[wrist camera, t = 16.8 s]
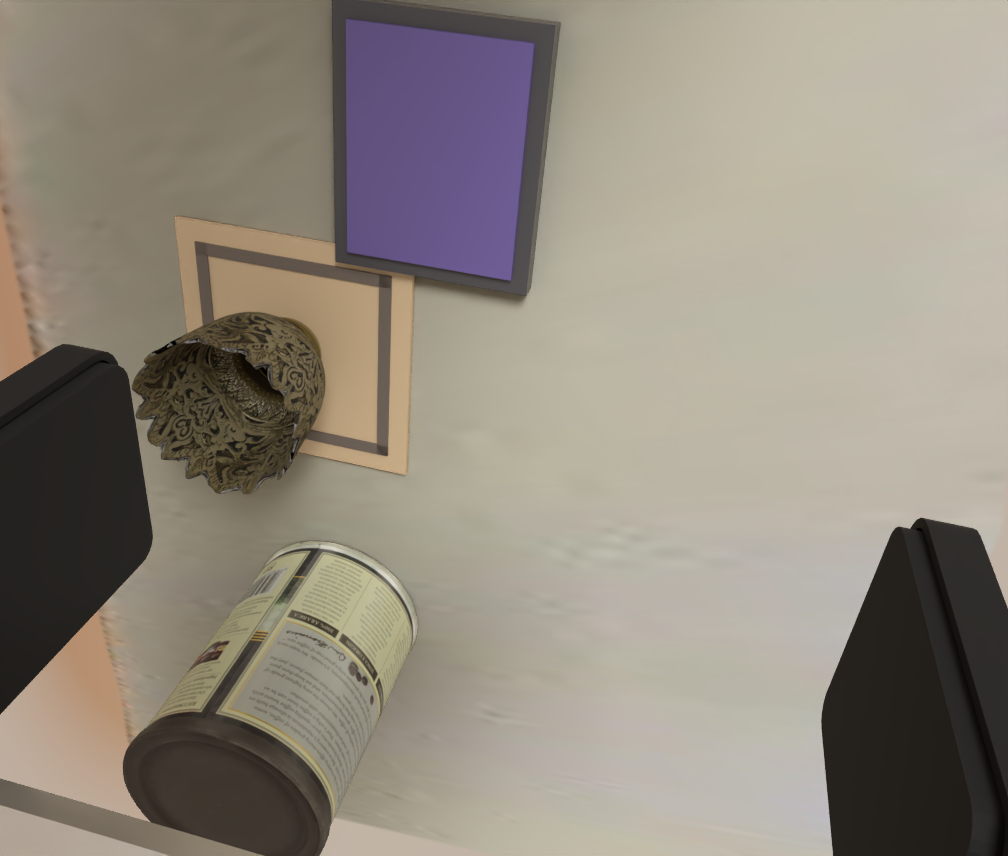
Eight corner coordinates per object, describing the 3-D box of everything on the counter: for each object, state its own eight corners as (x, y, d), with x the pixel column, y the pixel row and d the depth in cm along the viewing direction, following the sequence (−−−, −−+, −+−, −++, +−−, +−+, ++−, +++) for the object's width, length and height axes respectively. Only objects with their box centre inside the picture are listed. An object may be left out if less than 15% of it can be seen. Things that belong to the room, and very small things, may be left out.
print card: (177, 215, 42) (173, 218, 42) (415, 257, 40) (412, 260, 40) (200, 427, 48) (197, 431, 48) (407, 472, 46) (404, 476, 46)
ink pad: (341, -6, 35) (328, -3, 34) (560, 22, 34) (554, 25, 33) (344, 254, 41) (332, 264, 40) (530, 287, 39) (524, 298, 38)
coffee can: (383, 695, 56) (284, 905, 44) (240, 617, 55) (102, 808, 43) (447, 597, 50) (355, 806, 38) (290, 509, 50) (147, 694, 38)
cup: (276, 428, 47) (197, 514, 40) (196, 307, 44) (98, 378, 37) (389, 384, 43) (325, 469, 37) (311, 252, 41) (226, 317, 34)
